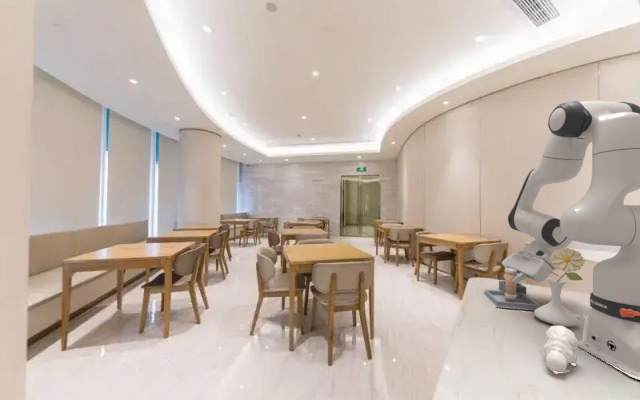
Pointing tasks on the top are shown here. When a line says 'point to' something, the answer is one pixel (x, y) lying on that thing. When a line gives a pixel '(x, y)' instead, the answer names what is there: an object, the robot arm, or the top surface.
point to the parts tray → (511, 304)
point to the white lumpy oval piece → (560, 348)
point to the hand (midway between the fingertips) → (509, 280)
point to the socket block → (519, 287)
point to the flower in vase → (554, 309)
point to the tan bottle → (510, 283)
